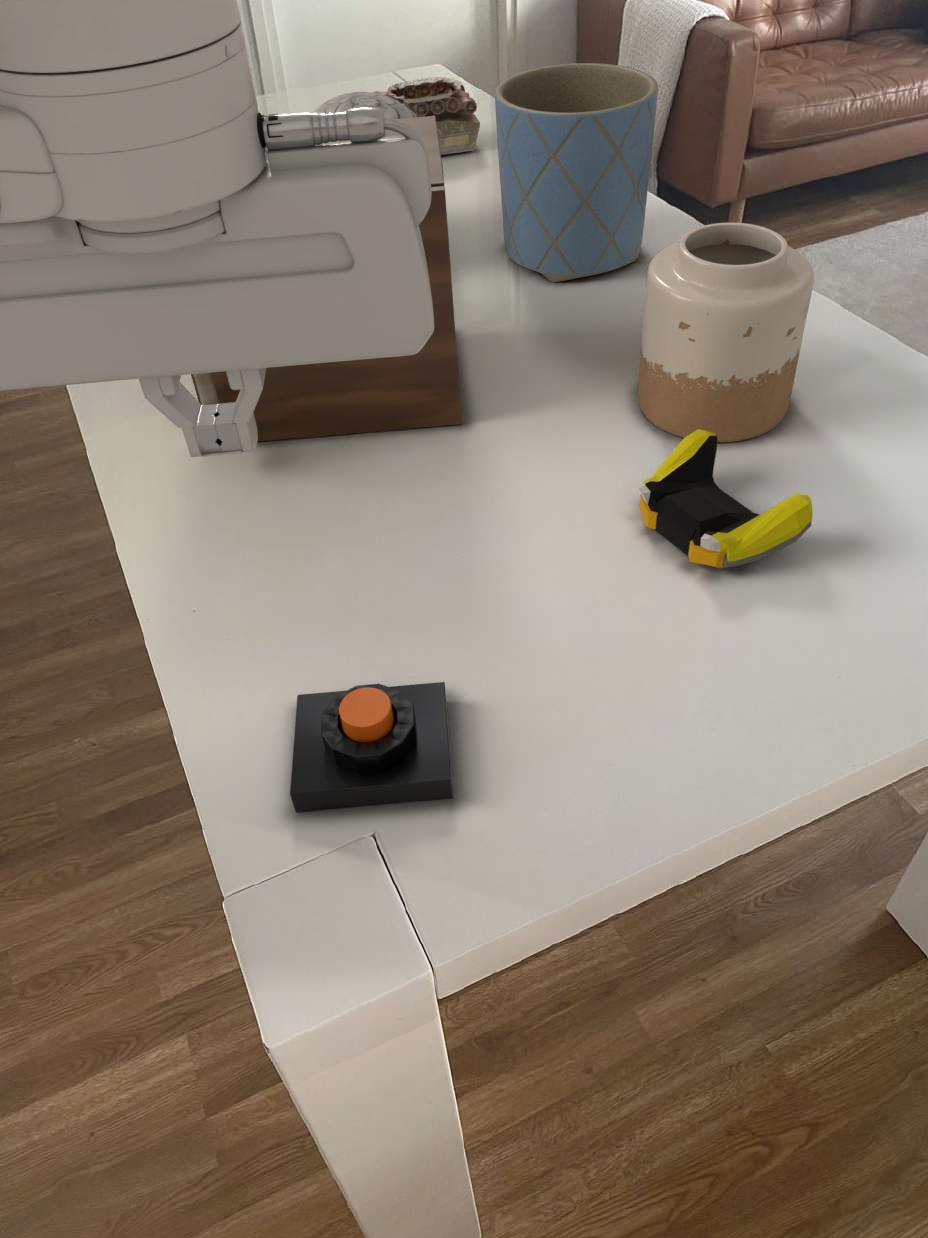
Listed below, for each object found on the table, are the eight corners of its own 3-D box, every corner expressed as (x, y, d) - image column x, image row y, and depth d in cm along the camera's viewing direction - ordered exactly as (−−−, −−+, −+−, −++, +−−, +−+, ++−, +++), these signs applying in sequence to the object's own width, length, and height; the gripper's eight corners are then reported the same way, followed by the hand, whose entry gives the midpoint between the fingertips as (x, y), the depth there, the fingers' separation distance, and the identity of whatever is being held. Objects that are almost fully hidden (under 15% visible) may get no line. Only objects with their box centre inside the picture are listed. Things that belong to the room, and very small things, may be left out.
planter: (675, 262, 124) (691, 91, 110) (543, 299, 119) (543, 125, 105) (597, 211, 137) (603, 53, 123) (475, 243, 132) (467, 81, 118)
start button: (342, 745, 67) (338, 729, 66) (343, 705, 69) (339, 689, 68) (394, 740, 67) (391, 724, 66) (393, 701, 69) (390, 684, 68)
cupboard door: (465, 456, 96) (448, 216, 80) (203, 478, 96) (132, 243, 80) (461, 418, 101) (444, 185, 85) (212, 440, 101) (146, 210, 85)
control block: (295, 812, 67) (284, 778, 65) (302, 713, 74) (292, 678, 71) (453, 798, 68) (449, 763, 65) (446, 700, 74) (442, 665, 71)
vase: (796, 374, 104) (828, 216, 92) (778, 454, 94) (811, 289, 82) (654, 356, 108) (667, 204, 96) (621, 431, 98) (632, 271, 86)
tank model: (487, 164, 152) (484, 96, 146) (360, 179, 151) (351, 112, 144) (474, 136, 162) (471, 71, 155) (354, 150, 161) (346, 85, 154)
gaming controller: (697, 467, 93) (613, 505, 90) (704, 418, 89) (617, 456, 86) (815, 551, 83) (726, 597, 80) (828, 500, 80) (735, 546, 76)
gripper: (421, 75, 37) (447, 391, 47) (-111, 121, 37) (25, 428, 47) (427, 131, 33) (454, 468, 42) (-178, 183, 33) (-13, 508, 42)
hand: (225, 447), depth 45 cm, fingers closed
